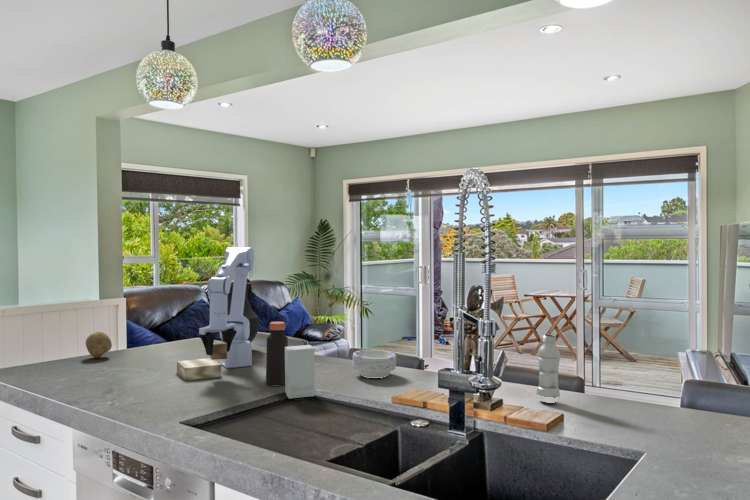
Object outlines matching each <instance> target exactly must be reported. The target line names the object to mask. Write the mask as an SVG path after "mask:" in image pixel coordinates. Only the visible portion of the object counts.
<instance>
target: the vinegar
mask: <svg viewBox="0 0 750 500" xmlns="http://www.w3.org/2000/svg"><path fill="white" fill-rule="evenodd" d="M285 331H286V322H284V321H271V322H270V323H269V332H270V334H269V335H268V336H267V337H266V351H265V352H266V354H265V355H266V357H265V358H266V359H265V361H266V365H265V367H266V368H265V369H266V371H265V372H266V373H265V384H266V385H267V384H268V385H267V386H269V385H283V384H285V347H289V346H288V345H289V338H288V336H287V335H286V334H285ZM283 386H284V385H283Z"/></svg>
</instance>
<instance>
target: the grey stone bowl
mask: <svg viewBox="0 0 750 500" xmlns="http://www.w3.org/2000/svg"><path fill="white" fill-rule="evenodd" d="M396 365H397V354H396V353H394V352H391V351H388V350H383V349H361V350H356V351H354V352H353V353H352V368H353V369H354V370H357V373H358V375H359V374H360V375H362V376H367V377H384V376H387V375H388V376H389V375H390V374H391V371H394V370H396V369H397V368H396V367H397V366H396ZM360 375H359V376H360ZM362 376H361V377H362ZM388 376H387V377H388Z"/></svg>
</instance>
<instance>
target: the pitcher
mask: <svg viewBox="0 0 750 500" xmlns="http://www.w3.org/2000/svg"><path fill="white" fill-rule="evenodd" d="M233 284H234V281H233V282H232V281H231V286H230V292H229V294H228V296H227V316H228V315H229V314H230V309H231V300H232V292H233ZM252 288H253V287H252V283H251V280H250V279H249V278H248V277H247V283H246V292H245V301H244V310H243V316H244V317H246V318H247V319H248V320H249V323H250V326H249V327H250V334H249V338H248V339H247V340H246V341H250V343H251V344H252V342H253V341H254V340H255V338H256V337H257V334H258V332H259V328H260V327H259V323H260V321H259V317H258V315H257V314H256V312H254V310H253V308H252V306H251V301H252V300H251V299H252V295H253V294H252ZM235 324H238V323H235ZM216 333H217V335H218V337H219V339H221V337H220V331H219V332H216Z"/></svg>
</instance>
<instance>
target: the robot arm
mask: <svg viewBox="0 0 750 500" xmlns="http://www.w3.org/2000/svg"><path fill="white" fill-rule="evenodd" d="M224 250H225V251H224V260H225V262H224V264H222V265H220V266H219V267H218V269H217V271H216V273H215V274H214V277H213V276H212V277H211V278H209V279H208V280H207V283H206V285H207V286H206V289H207V294H208V299H209V324H208V325H207V326H204V327H199V328H198V334H199V338H200V339H201V341H202V343H203V346H204V349H205V353H206V354H205V355H206V356H210V355H212V353H213V342H215V339H216V334H213V333H217V332H219V331H220V337H221V338H220V337H219V338H220V339H221V340H222V341H225V342H226V343H227V359H224V361H223V362H220V364H221V366H223V367H225V368H226V369H232V368H233V369H234V368H240V367H241V368H242V367H252V366H253V364H252V363H253V362H252V360H253V359H252V357H253V356H252V353H253V352H252V342H251V343H250V341H246V340H247V339H248V338H249V334H250V327H249V326H250V323H249V320H248V319H247V318H246V317H244V316H243V310H244V301H245V292H246V283H247V278H248V276H249V275H248V274H249V272H251V271H253V268H254V261H255V252H254V249H253V248H252V247H251V246H249V247H245V246H243V247H242V246H241V247H238V246H227V247H226V248H225V249H224ZM232 280H233V282H234V284H233V292H232V300H231V309H230V314H229V315H228V316H227V296H228V294H229V292H230V286H231V282H232ZM235 323H238V324H235Z"/></svg>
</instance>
